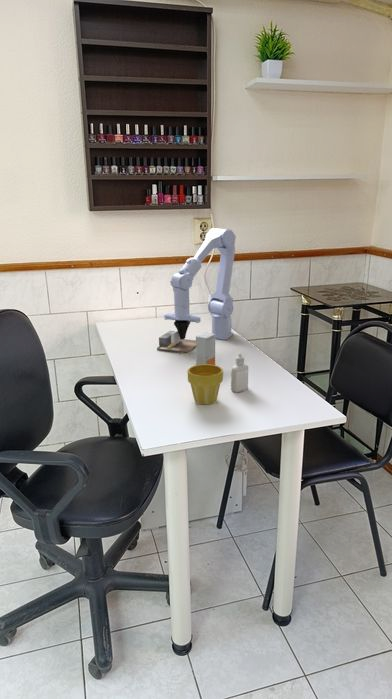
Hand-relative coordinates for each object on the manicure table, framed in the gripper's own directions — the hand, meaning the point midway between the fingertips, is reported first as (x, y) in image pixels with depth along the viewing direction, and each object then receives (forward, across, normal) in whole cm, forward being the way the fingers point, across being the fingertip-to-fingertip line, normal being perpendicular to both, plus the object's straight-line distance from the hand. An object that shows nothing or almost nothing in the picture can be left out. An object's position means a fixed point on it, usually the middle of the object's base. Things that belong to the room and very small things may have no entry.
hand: (182, 338), depth 194 cm
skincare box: (+4, +17, -18) cm, 25 cm away
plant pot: (+4, +27, -43) cm, 51 cm away
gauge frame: (+3, -1, 0) cm, 4 cm away
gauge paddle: (+2, -3, -2) cm, 4 cm away
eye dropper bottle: (+4, +34, -32) cm, 47 cm away
